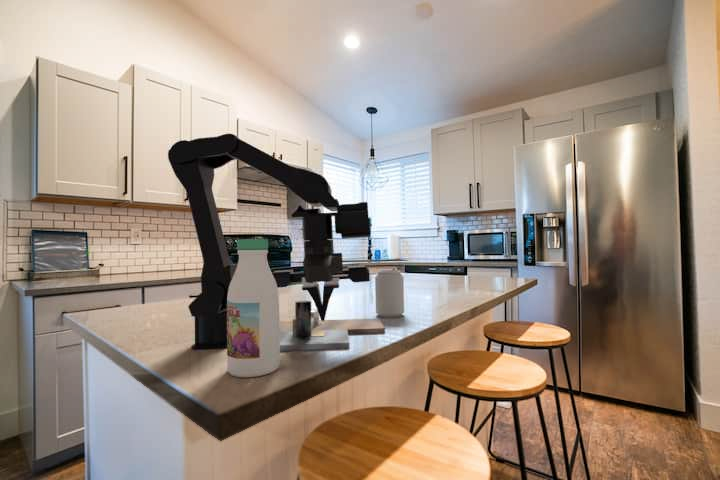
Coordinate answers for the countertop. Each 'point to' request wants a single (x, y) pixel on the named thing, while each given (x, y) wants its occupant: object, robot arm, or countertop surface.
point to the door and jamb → (327, 333)
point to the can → (389, 293)
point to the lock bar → (305, 318)
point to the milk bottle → (253, 313)
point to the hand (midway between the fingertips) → (322, 320)
